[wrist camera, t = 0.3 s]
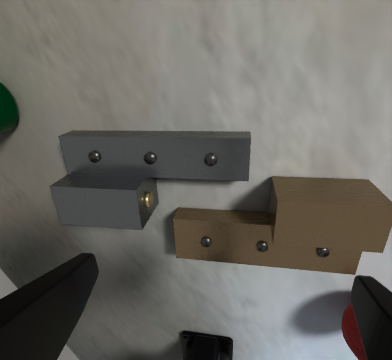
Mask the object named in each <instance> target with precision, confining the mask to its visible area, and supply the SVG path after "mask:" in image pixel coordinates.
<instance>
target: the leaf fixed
mask: <svg viewBox="0 0 392 360" xmlns="http://www.w3.org/2000/svg"><path fill="white" fill-rule="evenodd" d="M58 137H59V140H60V144H61V148H62V152H63V155H64V159H65V163H66V166H67V170H68V175H66V176H65V177H63V178H62V179H60V180H59V181H57V182H55V183H54V184H52V185H51V186H50V189H51V192H52V196H53V199H54V202H55V205H56V209H57V212H58V215H59V218H60V222H61V224H68V225H81V226H94V227H107V228H119V229H132V230H142V229H143V228H144V226H145V225H146V223H147V221H148V220H149V218H150V216H151V215H152V213H153V211H154V210H155V208H156V207H157V205H158V194H157V185H156V178H179V179H205V180H230V181H249V163H250V144H251V134H250V132H214V131H70V132H68V133H65V134H63V135H60V136H58Z"/></svg>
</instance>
